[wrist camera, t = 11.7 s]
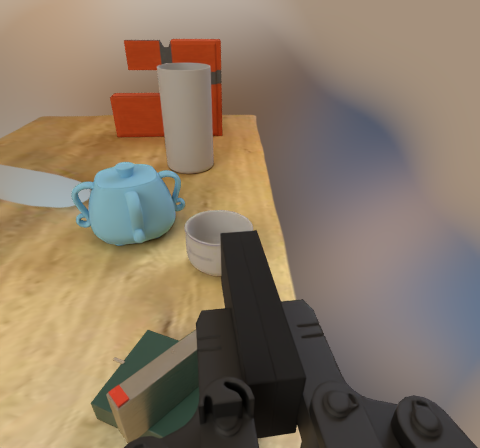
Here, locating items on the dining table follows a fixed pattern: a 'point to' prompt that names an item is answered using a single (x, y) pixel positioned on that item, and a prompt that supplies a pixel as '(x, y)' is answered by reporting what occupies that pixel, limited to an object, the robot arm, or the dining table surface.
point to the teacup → (211, 237)
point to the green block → (136, 360)
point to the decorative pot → (129, 203)
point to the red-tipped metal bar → (155, 388)
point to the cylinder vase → (187, 115)
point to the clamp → (149, 104)
